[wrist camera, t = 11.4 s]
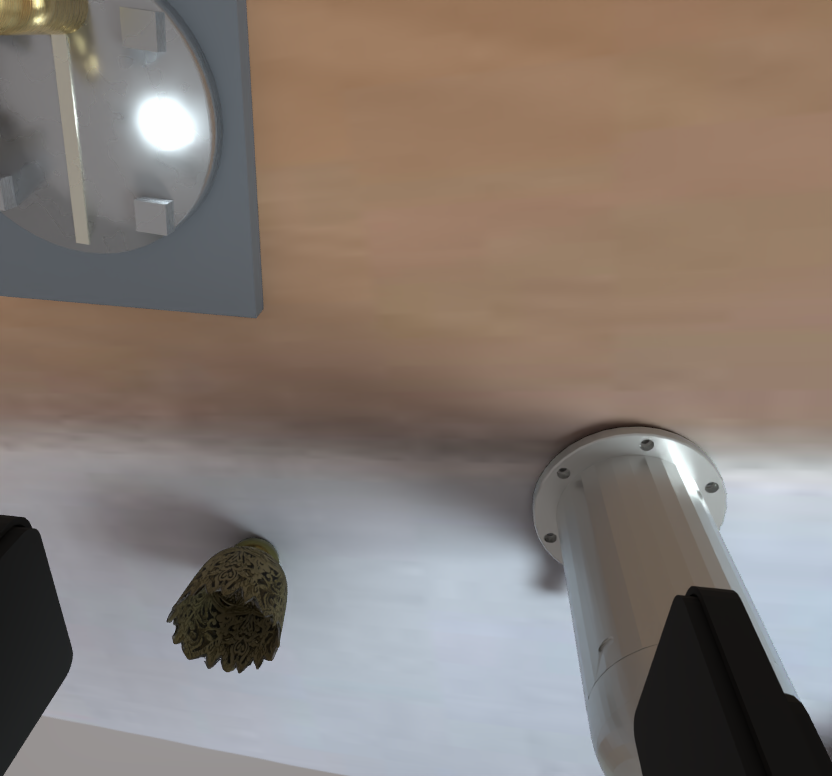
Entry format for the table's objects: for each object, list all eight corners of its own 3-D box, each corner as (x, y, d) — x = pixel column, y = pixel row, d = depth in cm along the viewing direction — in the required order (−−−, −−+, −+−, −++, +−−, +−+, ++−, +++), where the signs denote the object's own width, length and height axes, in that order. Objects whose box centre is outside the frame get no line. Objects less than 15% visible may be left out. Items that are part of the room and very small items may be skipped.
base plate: (263, 308, 41) (255, 319, 39) (11, 286, 41) (-6, 296, 40) (238, -142, 30) (225, -151, 29) (-100, -161, 31) (-128, -171, 29)
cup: (309, 591, 52) (282, 679, 45) (217, 585, 52) (177, 671, 45) (301, 516, 48) (272, 598, 41) (203, 510, 49) (157, 591, 42)
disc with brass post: (221, -29, 31) (133, -49, 23) (224, 260, 38) (157, 322, 30) (-74, -73, 31) (-263, -107, 23) (-18, 223, 38) (-149, 274, 30)
